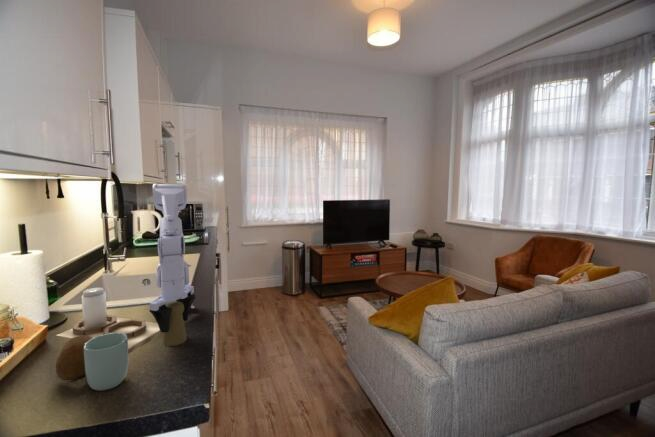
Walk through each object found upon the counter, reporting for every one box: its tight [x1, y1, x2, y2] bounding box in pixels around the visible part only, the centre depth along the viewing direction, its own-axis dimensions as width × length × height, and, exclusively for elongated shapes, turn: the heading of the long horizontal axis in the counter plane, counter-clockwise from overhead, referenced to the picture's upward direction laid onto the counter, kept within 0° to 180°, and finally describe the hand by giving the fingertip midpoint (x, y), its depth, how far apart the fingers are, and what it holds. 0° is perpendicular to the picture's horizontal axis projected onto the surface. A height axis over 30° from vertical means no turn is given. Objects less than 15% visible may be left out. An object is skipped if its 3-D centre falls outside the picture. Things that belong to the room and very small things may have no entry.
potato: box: [55, 336, 93, 381], centre depth 71 cm, size 8×12×9 cm
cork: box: [162, 302, 187, 347], centre depth 86 cm, size 6×6×11 cm
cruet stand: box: [55, 314, 164, 354], centre depth 89 cm, size 14×25×3 cm, turn 76°
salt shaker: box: [81, 287, 108, 329], centre depth 90 cm, size 6×6×11 cm
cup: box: [84, 333, 130, 392], centre depth 67 cm, size 8×8×10 cm
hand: (174, 325), depth 86 cm, fingers open, 7 cm apart
